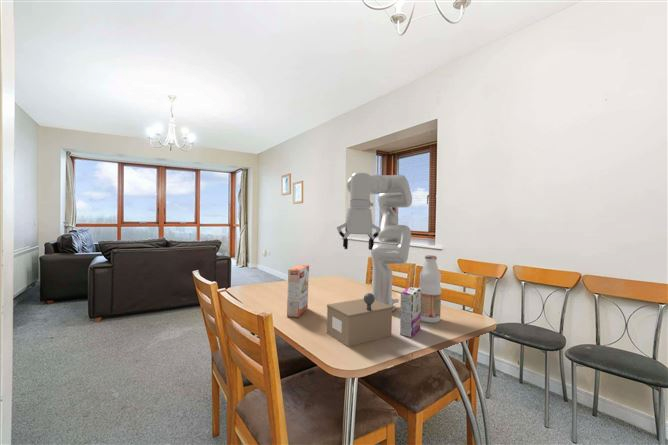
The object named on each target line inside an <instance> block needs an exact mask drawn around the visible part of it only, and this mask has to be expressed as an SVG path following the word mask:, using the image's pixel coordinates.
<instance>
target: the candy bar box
mask: <svg viewBox="0 0 668 445" xmlns="http://www.w3.org/2000/svg"><path fill="white" fill-rule="evenodd" d="M421 322H422V321H421V289H420V288H419V287H413V286H410V287H407V288H406V289H404V290H403V291H401V292H400V323H399V325H400V327H399V328H400V331H399V332H400V336H403V337H408V338H413V337H414V336H415V335H416V334H417V333H418V332H419V331H420V330H421Z"/></svg>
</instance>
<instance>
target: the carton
mask: <svg viewBox="0 0 668 445" xmlns="http://www.w3.org/2000/svg"><path fill="white" fill-rule="evenodd" d="M326 307H327V306H326ZM326 310H327V311H326V334H327V335H329V336H331V337H332V338H334V339H335V340H337V341H338V342H340V343H342V344H343V345H344V346H346V347H347V348H349V347H354V346H357V345H360V344H364V343H368V342H373V341H375V340H378V339H383V338H386V337H391V336H392V327H393V326H392V324H393V323H392V322H393V311H392V309H390V310H385V311H380V312H375V313H370V314H365V315H360V316H355V317H351V318H348V317H346V316H344V315H342V314H340V313H338V312H336V311H334V310H332V309H330V308H329V307H327V309H326Z"/></svg>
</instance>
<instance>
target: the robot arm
mask: <svg viewBox="0 0 668 445" xmlns="http://www.w3.org/2000/svg"><path fill="white" fill-rule="evenodd" d="M346 189H347V191H348V193H349V194H350V196H349V199H350V203H349V208H347V211H346V216H345V223H343V224H340V225H338V226H337V227H336V229H337V232H338V235H339V236H341V238H342V241H343V242H342V247H343V248H344V250H348V248H349V246H348V245H349V240H348V237H349V236H350V235H366V236H368V238H369V239H368V250H370V254H371V255H370V256H371V263H372V265H371V266H372V280H371V281H372V283H371V284H372V285H371V286H372V287H371V294H373V295H374V297H375V300H376V301H379V302H382V303H384V304H387V305H389V306H392V307H393V309H392V312H394V311H395V310H396V309H395V307H396V306H395V305H394V304H398V303H399V302H400V300H399V299H398V298H394V299H393V297H392V296H393V270H392V268H391V267H390V265H396V266H397V265H398V266H400V265H401V266H403V265H405V264H406V263H407V261H408V260H409V259H408V258H409V252H410V247H411V238H412V231H411V228H410V227H409V226H408V225H406V224H399V216H398V214H397V213H396V211H395V210H393V208H409V207H410V206H411V205H412V203H413V195H412V192H411V191H412V190H411V187H410V184H409V182H408V179H407V177H406V176H405V175H403V174H389V175H387V174H385V175H384V174H376V175H375V174H374V175H370V174H369V173H366V172H355V173H354V172H353V174H351V176H350V177H349V179H348V180H347V182H346ZM371 195H378V196H377V200H378V201H377V202H378V206H379V210H380V214H381V220H380V225H379V226H378V225H375V224H374V223H373V215H372V214H373V213H372V209H371V207H374V202H371V198H370V197H371ZM342 229H344V231H345V233H344V232H343V231H342ZM373 229H374V230H375V232H374V233H373ZM376 238H378V241H379V242H380V243H375V239H376ZM374 243H375V244H374Z"/></svg>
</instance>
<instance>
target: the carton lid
mask: <svg viewBox="0 0 668 445" xmlns="http://www.w3.org/2000/svg"><path fill="white" fill-rule="evenodd" d="M326 307H329V308H330V309H332V310H334V311H336V312H338V313H340V314H342V315H344V316H346V317H348V318H351V317H355V316H360V315H365V314H370V313H375V312H380V311H385V310H390V309H393V307H392V306H389V305H387V304H384V303H382V302H379V301H376V300H375V297H374V295H373V294H372V292H371V293H370V292H368V293H365V294H364V296H363V298H358V299H353V300H348V301H342V302H334V303H328V304H326Z"/></svg>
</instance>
